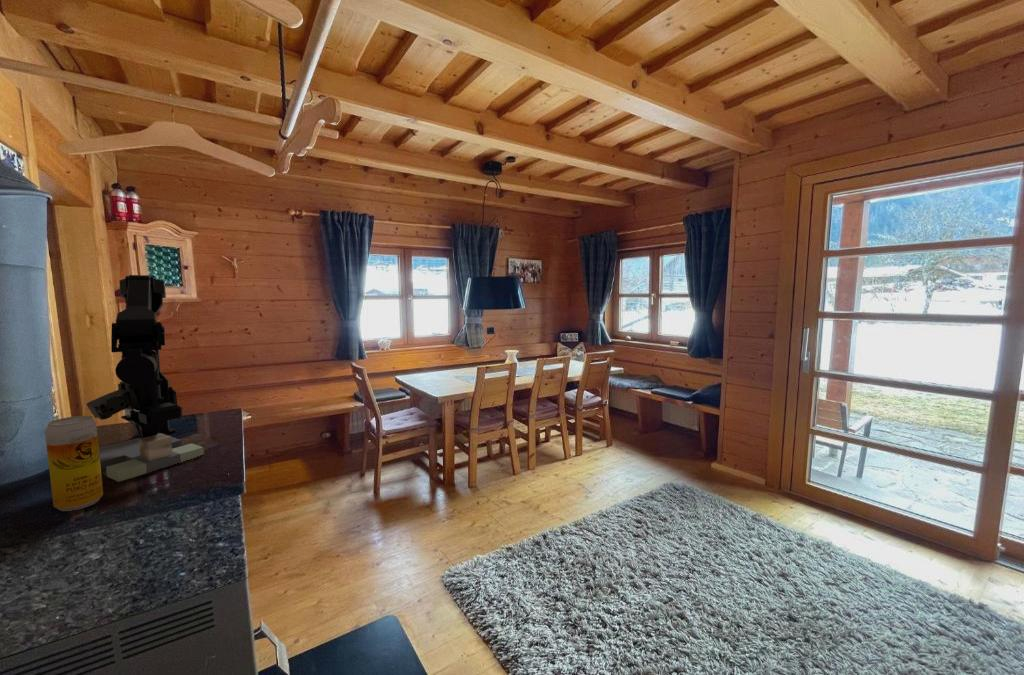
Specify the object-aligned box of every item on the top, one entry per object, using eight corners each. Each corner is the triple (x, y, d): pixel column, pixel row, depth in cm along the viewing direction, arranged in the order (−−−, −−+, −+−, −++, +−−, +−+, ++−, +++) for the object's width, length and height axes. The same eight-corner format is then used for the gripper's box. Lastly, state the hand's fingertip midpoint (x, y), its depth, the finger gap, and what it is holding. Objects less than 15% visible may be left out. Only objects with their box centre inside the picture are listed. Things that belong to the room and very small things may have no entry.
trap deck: (76, 461, 91) (75, 453, 91) (159, 440, 105) (159, 432, 104) (118, 481, 82) (117, 472, 82) (203, 455, 95) (203, 447, 95)
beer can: (71, 514, 70) (62, 426, 68) (44, 510, 71) (33, 424, 70) (112, 497, 76) (104, 416, 74) (86, 494, 77) (78, 413, 76)
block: (140, 457, 89) (139, 439, 89) (163, 451, 92) (161, 433, 92) (149, 461, 87) (148, 442, 87) (172, 454, 91) (171, 436, 90)
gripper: (71, 377, 87) (78, 451, 89) (111, 388, 78) (119, 469, 80) (138, 369, 97) (144, 435, 98) (181, 378, 88) (186, 450, 90)
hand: (147, 446), depth 91 cm, fingers closed
